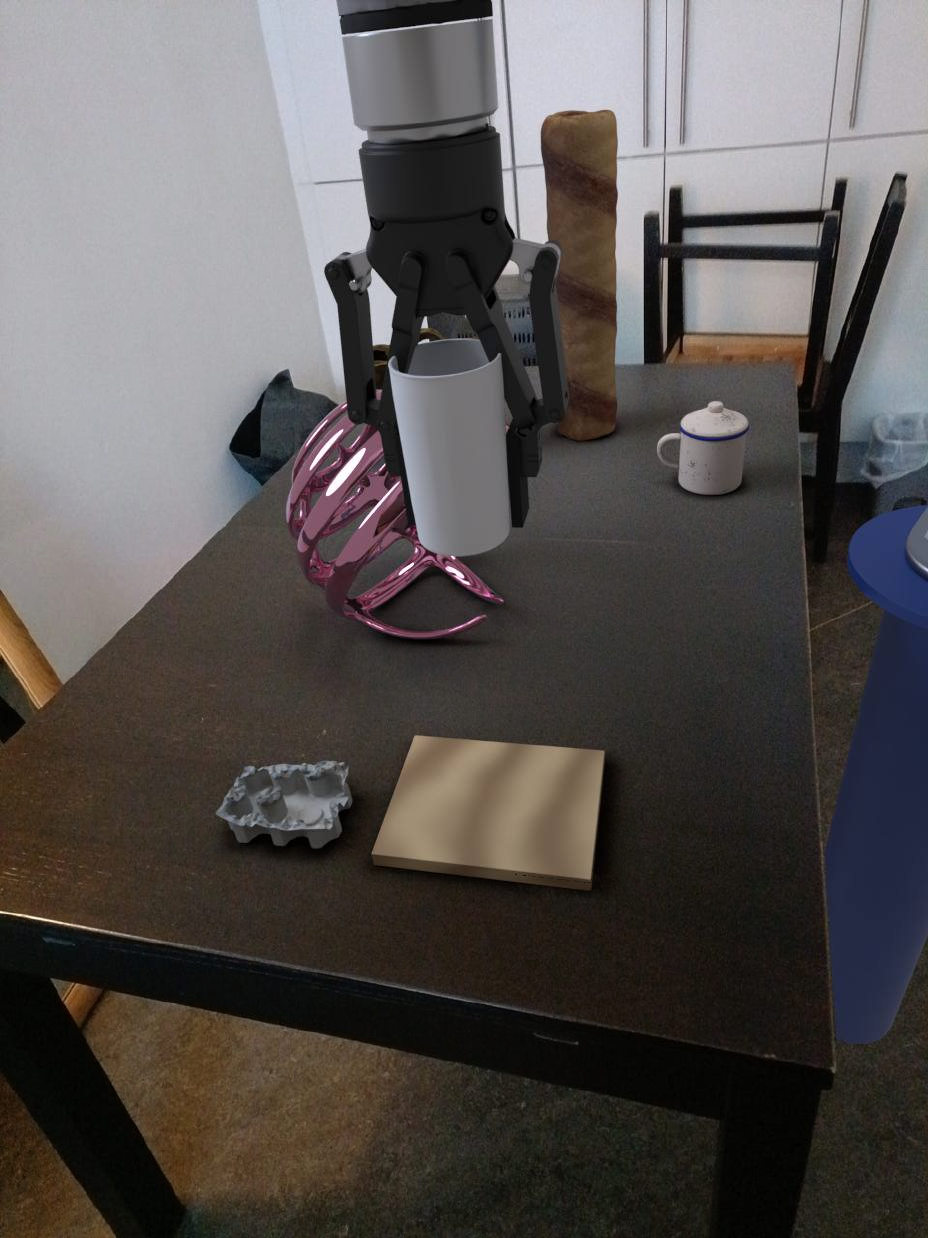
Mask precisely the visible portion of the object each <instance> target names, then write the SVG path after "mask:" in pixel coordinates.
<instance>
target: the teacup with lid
mask: <svg viewBox="0 0 928 1238" xmlns="http://www.w3.org/2000/svg"><path fill="white" fill-rule="evenodd" d="M679 430H680V432H679V433H678V432H677V433H676V432H675V433H674V432H673V433H667V434H665V435H663V436H662V437H661V438H660V439H659V440H658V442H657V446H656V452H657V457H658V459H659V460H660V462H661V463H662V464H663V465H664V466H666V467H668V468H673V469H678V477H677V479H678V480H677V481H678V483H679V485H680V486H681V487H682V488H683V489H685V490H686V491H688V492H690V493H694V494H697V495H704V496H719V495H724V494H728V493H731V492H733V491H735V490H736V489H738V488H739V487H740V485H741V484H742V482H743V480H742V479H743V472H744V471H743V470H744V463H745V462H744V461H745V453H746V452H745V451H746V442H747V433H748V431H749V430H750V423H749V420H748V418H747V417H746V416H745V415H744V414H742V413H740V412H738V411H735V410H731V409H728V408H726V407H724V403H723V402H722V401H719V400H714V401H710V402H709V403H708V404H707V407H704V408H702V409H698V410H694V411H691V412H689V413H687V414H686V415H684V416H683V417H682V419H681V421H680V422H679ZM670 441H680V442H679V444H680V445H679V461H678V460H677V461H676V460H670V459H669V458H667V457H666V456H665V454H664V452H663V447H664V445H665V444H666V443H667V442H670Z"/></svg>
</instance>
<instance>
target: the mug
mask: <svg viewBox="0 0 928 1238" xmlns="http://www.w3.org/2000/svg"><path fill="white" fill-rule="evenodd" d="M388 367H389V371H390V378H391V385H392V392H393V399H394V405H395V410H396V416H397V422H398V427H399V433H400V438H401V444H402V450H403V455H404V461H405V467H406V472H407V478H408V484H409V490H410V496H411V502H412V507H413V511H414V516H415V521H416V527H417V532H418V537H419V540H420V543H421V544H422V545H423V546H424V547H425V548H426V549H428V550H429V551H431V552H434V553H436V554H440V555H445V556H456V557H467V556H474V555H480V554H483V553H486V552H488V551H491V550H493V549H495V548H497V547H499V546H500V545H501V544H503V542H505V541H506V539H507V538H508V536H509V534H510V531H511V510H510V495H509V481H508V468H507V451H506V422H507V421H506V401H505V398H504V384H503V372H502V360H501V353H498V355H497V357H496V358H495V359H494V360H493V361H492V362H490V363H489V361H488V358H487V356H486V354H485V351H484V349H483V346H482V344H481V342H480V340H478V339H465V338H463V337H462V338H461V337H460V338H447V339H444V340H437V341H432V340H430V341H426V342H422V343H418V345H416V347H415V350H414V353H413V357H412V360H411V364H410V367H409V370H408V374H404V373H401V372H399V370H398V364H397V359H396V356H393V357H392V358H391V359H390V360H389V363H388Z"/></svg>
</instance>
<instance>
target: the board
mask: <svg viewBox="0 0 928 1238" xmlns="http://www.w3.org/2000/svg"><path fill="white" fill-rule="evenodd" d="M605 764H606V751H605V750H601V749H588V748H578V747H566V746H565V747H564V746H554V745H553V746H552V745H539V744H529V743H528V744H527V743H517V742H515V743H514V742H502V741H491V740H480V739H479V740H478V739H477V740H476V739H467V738H452V737H440V736H429V735H417V734H416V735H414V737H413V738H412V741H411V745H410V748H409V750H408V753H407V756H406V757H405V761H404V764H403V767H402V769H401V772H400V775H399V777H398V780H397V783H396V785H395V788H394V791H393V793H392V797H391V800H390V802H389V804H388V807H387V809H386V813H385V815H384V817H383V821H382V823H381V826H380V830H379V832H378V835H377V837H376V840H375V843H374V845H373V849H372V851H371V853H370V854H371V857H372V861H373V865H374V866H381V867H388V868H395V869H403V870H413V871H421V872H430V873H438V874H446V875H456V876H462V877H471V878H479V879H488V880H497V881H505V882H511V883H512V882H514V883H521V884H529V885H538V886H546V887H554V888H555V887H556V888H563V889H571V890H572V889H573V890H580V891H587V892H591V891H592V887H593V880H594V879H593V878H594V868H595V860H596V849H597V840H598V832H599V821H600V812H601V802H602V793H603V784H604V776H605V775H604V774H605V773H604V772H605V766H606V765H605ZM592 870H593V871H592ZM515 874H517V875H515ZM523 875H526V876H523ZM529 875H530V876H529ZM532 876H535V877H532ZM539 876H540V877H544V878H540V877H539ZM549 878H554V879H549ZM557 879H565V880H557ZM591 879H592V880H591ZM566 880H570V881H566ZM573 880H575V881H581V882H574V881H573ZM583 882H591V883H583Z"/></svg>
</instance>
